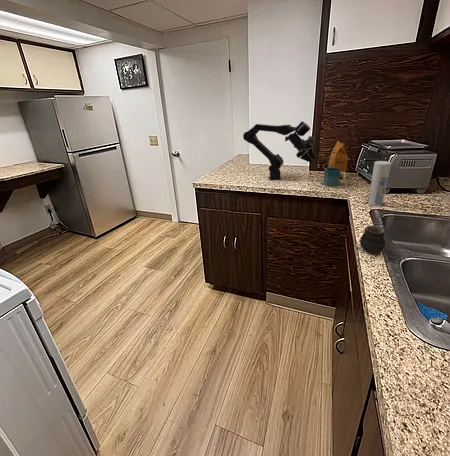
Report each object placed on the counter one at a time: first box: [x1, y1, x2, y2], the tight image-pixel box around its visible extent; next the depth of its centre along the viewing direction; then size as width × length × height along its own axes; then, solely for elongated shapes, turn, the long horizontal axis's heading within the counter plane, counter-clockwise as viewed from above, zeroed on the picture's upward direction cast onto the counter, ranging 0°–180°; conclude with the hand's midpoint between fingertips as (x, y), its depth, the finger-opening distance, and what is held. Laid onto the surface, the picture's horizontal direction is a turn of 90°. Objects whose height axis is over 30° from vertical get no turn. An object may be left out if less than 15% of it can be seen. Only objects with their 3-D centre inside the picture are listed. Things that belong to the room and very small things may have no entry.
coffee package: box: [328, 140, 349, 179], centre depth 158 cm, size 10×12×22 cm
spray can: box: [367, 160, 392, 207], centre depth 115 cm, size 6×6×20 cm
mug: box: [322, 167, 347, 187], centre depth 146 cm, size 9×8×12 cm
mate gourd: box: [359, 224, 386, 254], centre depth 82 cm, size 7×8×10 cm
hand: (314, 161), depth 148 cm, fingers open, 9 cm apart
